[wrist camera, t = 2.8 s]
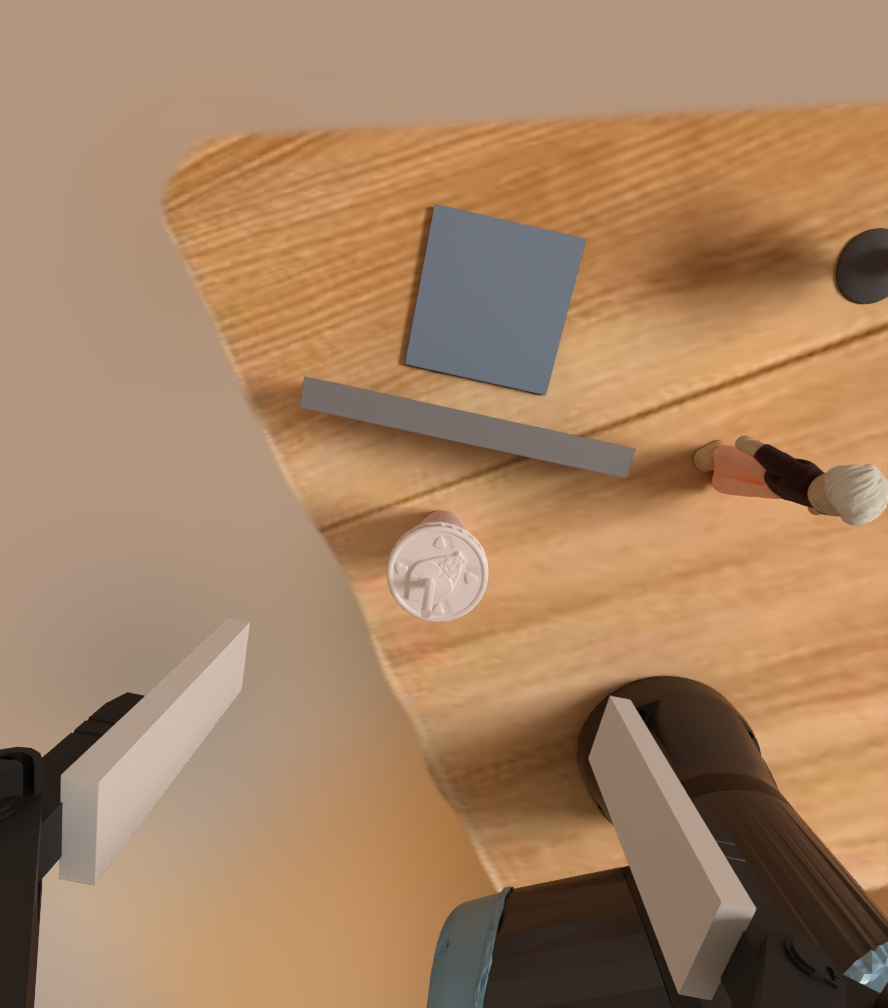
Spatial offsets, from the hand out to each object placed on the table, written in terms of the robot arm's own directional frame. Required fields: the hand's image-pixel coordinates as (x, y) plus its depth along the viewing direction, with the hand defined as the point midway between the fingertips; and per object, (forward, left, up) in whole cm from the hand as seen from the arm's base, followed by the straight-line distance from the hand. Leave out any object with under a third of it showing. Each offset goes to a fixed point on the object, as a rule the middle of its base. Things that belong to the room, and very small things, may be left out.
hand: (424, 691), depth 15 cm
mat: (+18, 0, -21) cm, 28 cm away
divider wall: (+9, 0, -21) cm, 23 cm away
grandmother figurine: (+10, -21, -21) cm, 31 cm away
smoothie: (0, 0, -21) cm, 21 cm away
